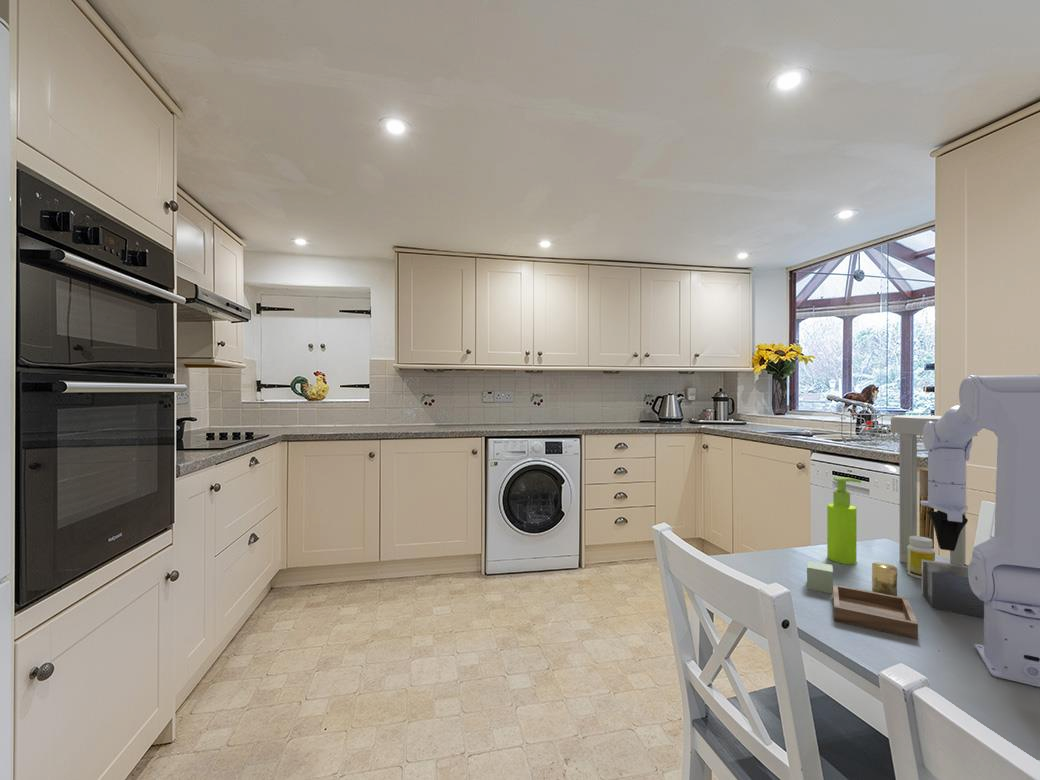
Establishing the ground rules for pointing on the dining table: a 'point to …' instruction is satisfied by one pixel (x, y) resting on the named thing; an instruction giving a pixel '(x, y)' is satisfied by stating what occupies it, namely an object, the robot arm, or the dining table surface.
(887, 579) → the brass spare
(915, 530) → the stool
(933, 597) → the block
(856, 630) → the dining table surface
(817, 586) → the sage block
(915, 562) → the supplement bottle
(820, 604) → the dining table surface
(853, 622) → the walnut tray
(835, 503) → the soap dispenser
